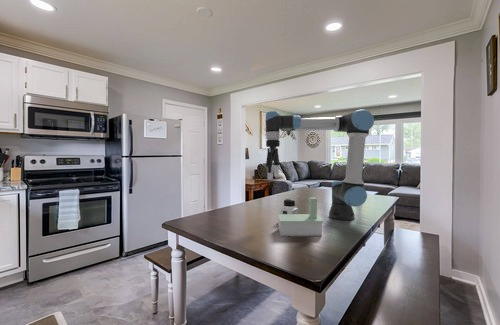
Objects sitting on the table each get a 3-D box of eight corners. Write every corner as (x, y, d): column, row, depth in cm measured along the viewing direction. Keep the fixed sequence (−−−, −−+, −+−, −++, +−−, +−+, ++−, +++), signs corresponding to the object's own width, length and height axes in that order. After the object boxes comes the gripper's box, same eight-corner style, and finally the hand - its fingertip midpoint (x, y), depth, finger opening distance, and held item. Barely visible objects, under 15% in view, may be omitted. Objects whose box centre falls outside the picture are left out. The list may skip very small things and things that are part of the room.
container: (292, 223, 141) (292, 201, 140) (280, 221, 146) (280, 199, 145) (298, 220, 147) (298, 199, 147) (286, 218, 152) (286, 198, 151)
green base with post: (316, 215, 131) (316, 195, 131) (323, 222, 118) (323, 200, 118) (277, 215, 132) (277, 196, 131) (280, 222, 119) (280, 200, 118)
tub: (315, 228, 131) (315, 215, 131) (322, 236, 119) (322, 222, 119) (278, 228, 132) (278, 216, 131) (281, 236, 120) (281, 222, 119)
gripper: (272, 140, 149) (272, 175, 150) (259, 139, 126) (260, 179, 127) (284, 140, 147) (284, 175, 148) (273, 138, 123) (274, 180, 124)
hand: (273, 177), depth 137 cm, fingers open, 13 cm apart
